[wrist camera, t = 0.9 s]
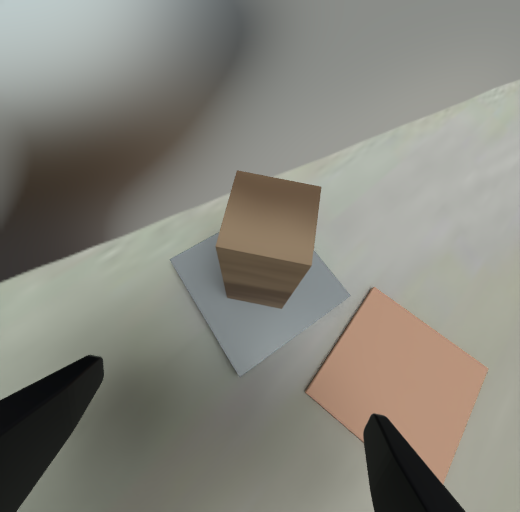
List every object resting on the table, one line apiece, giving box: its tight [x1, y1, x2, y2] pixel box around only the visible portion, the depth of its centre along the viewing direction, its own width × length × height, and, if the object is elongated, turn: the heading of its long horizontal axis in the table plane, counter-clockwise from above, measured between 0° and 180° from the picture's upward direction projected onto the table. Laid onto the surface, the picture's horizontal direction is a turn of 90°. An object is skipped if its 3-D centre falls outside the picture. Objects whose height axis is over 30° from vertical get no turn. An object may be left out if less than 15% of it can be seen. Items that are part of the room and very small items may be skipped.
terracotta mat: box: [305, 287, 488, 484], centre depth 21 cm, size 11×11×1 cm
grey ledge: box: [170, 232, 350, 377], centre depth 23 cm, size 11×11×2 cm
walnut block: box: [215, 171, 321, 309], centre depth 18 cm, size 4×4×10 cm
